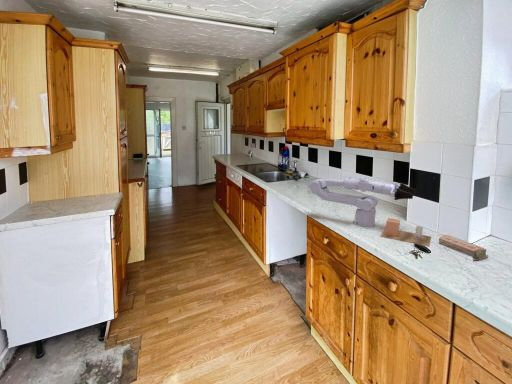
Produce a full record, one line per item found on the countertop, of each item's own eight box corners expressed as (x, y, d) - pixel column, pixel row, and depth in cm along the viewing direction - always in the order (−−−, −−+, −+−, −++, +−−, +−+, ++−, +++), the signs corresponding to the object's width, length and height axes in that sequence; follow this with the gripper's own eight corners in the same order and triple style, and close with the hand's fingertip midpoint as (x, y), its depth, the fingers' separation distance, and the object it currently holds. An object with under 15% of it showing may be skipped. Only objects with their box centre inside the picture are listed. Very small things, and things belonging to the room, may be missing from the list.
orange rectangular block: (384, 234, 142) (386, 220, 141) (386, 231, 147) (388, 218, 145) (396, 236, 140) (398, 223, 138) (398, 233, 144) (400, 220, 143)
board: (379, 239, 140) (379, 236, 140) (385, 230, 151) (385, 227, 151) (429, 249, 130) (429, 246, 129) (430, 239, 141) (431, 236, 141)
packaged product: (491, 247, 121) (474, 251, 118) (488, 258, 123) (472, 262, 119) (448, 232, 138) (432, 235, 134) (446, 242, 139) (431, 245, 135)
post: (414, 239, 137) (416, 227, 136) (414, 237, 139) (416, 225, 138) (420, 240, 136) (422, 228, 135) (421, 238, 138) (423, 227, 137)
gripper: (381, 184, 141) (413, 190, 134) (388, 177, 152) (418, 182, 145) (378, 198, 143) (410, 205, 136) (386, 190, 155) (415, 195, 147)
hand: (414, 194), depth 141 cm, fingers open, 7 cm apart
